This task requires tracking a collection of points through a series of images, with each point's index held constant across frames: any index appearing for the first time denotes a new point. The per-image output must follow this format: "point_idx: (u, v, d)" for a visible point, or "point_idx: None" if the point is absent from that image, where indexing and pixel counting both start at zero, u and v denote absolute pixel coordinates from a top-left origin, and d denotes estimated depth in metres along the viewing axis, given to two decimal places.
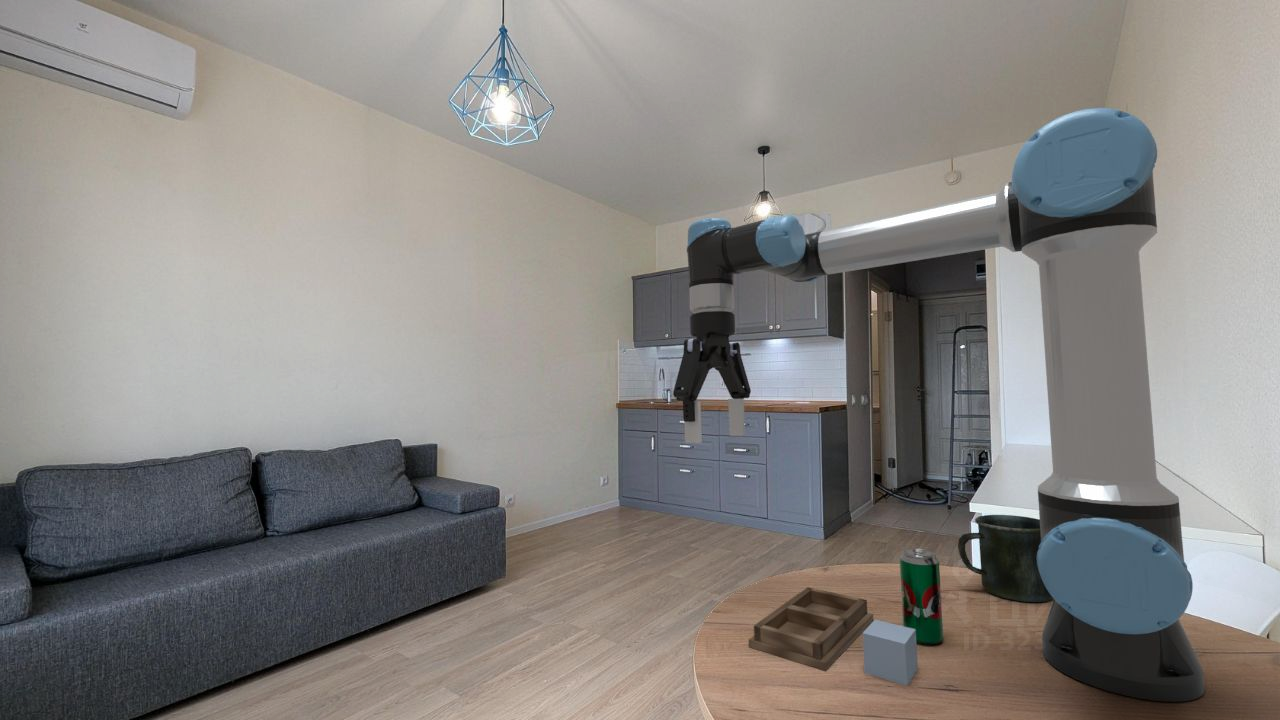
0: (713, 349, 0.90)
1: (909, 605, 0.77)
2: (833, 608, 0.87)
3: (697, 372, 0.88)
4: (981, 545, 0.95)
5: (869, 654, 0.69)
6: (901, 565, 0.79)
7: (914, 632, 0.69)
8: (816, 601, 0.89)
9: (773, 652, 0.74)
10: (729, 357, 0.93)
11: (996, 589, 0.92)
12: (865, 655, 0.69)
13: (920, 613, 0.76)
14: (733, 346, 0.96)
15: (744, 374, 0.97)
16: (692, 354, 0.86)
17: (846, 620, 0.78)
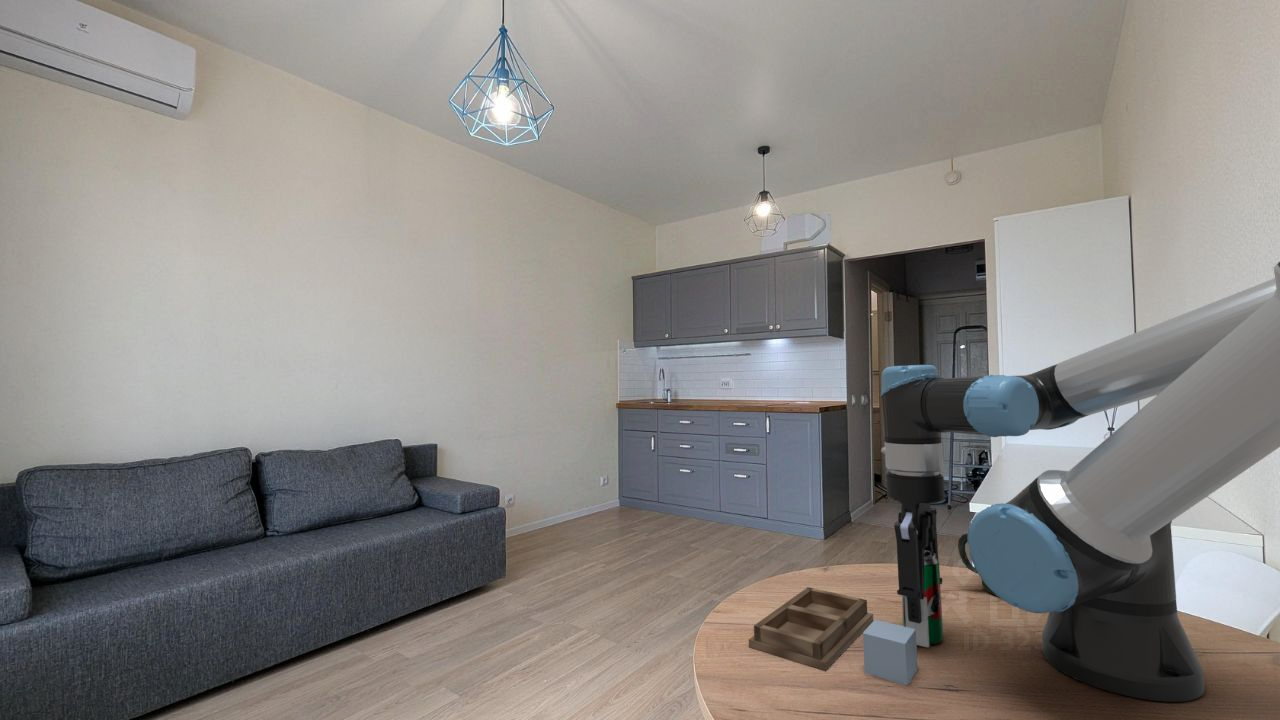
0: (923, 523, 0.76)
1: None
2: (833, 608, 0.87)
3: None
4: None
5: (869, 654, 0.69)
6: None
7: (914, 632, 0.69)
8: (816, 601, 0.89)
9: (773, 652, 0.74)
10: (932, 526, 0.79)
11: None
12: (865, 655, 0.69)
13: None
14: (930, 511, 0.83)
15: (936, 549, 0.82)
16: (911, 545, 0.74)
17: (846, 620, 0.78)
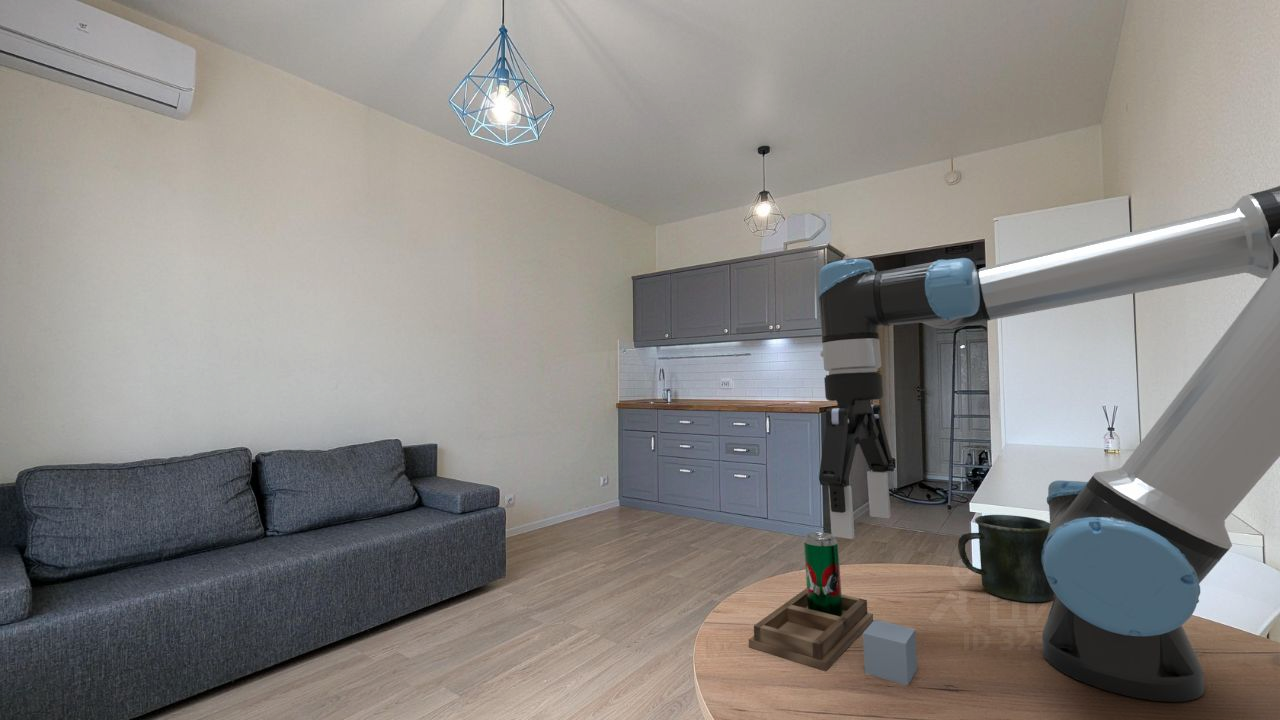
0: (859, 418, 0.74)
1: (811, 584, 0.83)
2: None
3: None
4: (981, 545, 0.95)
5: (869, 654, 0.69)
6: (804, 547, 0.85)
7: (914, 632, 0.69)
8: None
9: (773, 652, 0.74)
10: (874, 425, 0.76)
11: (996, 589, 0.92)
12: (865, 655, 0.69)
13: (820, 590, 0.82)
14: (873, 409, 0.80)
15: (886, 442, 0.81)
16: (839, 428, 0.70)
17: (846, 620, 0.78)
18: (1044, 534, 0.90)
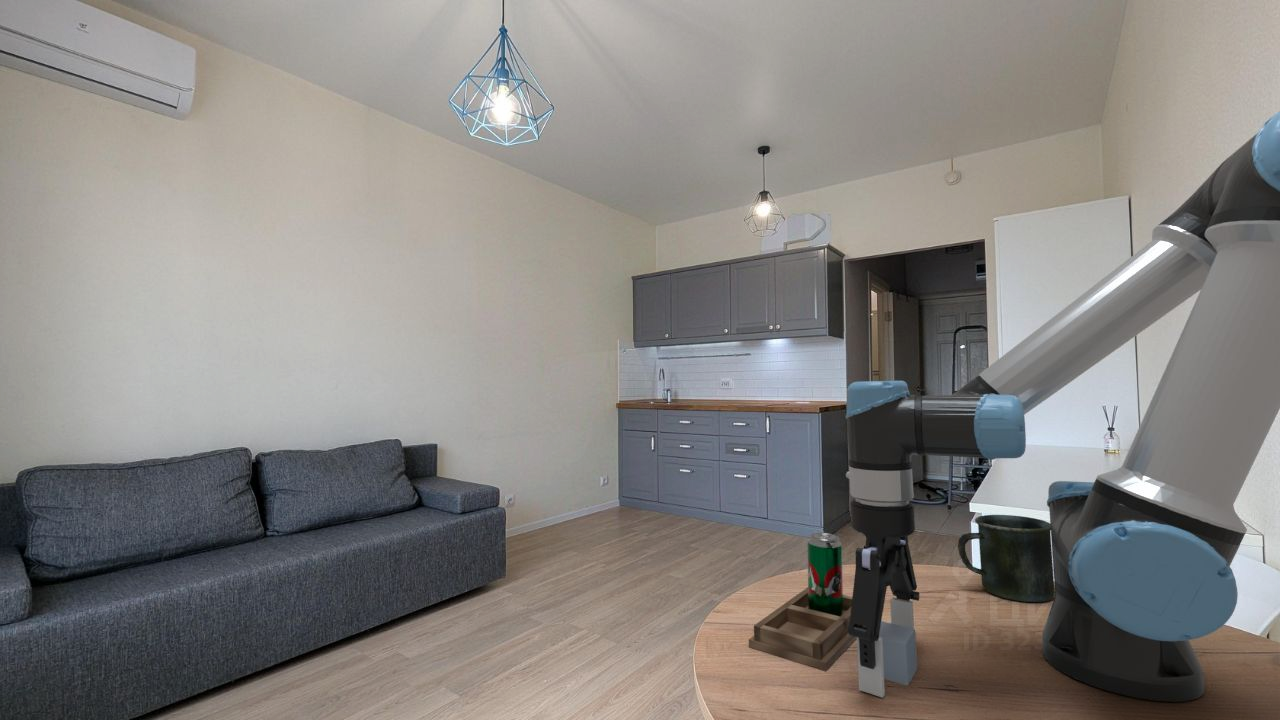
0: (889, 556, 0.68)
1: (813, 585, 0.83)
2: None
3: None
4: (981, 545, 0.95)
5: None
6: (808, 548, 0.84)
7: (914, 632, 0.69)
8: None
9: (773, 652, 0.74)
10: (903, 558, 0.71)
11: (996, 589, 0.92)
12: None
13: (822, 591, 0.82)
14: None
15: (911, 567, 0.75)
16: (871, 574, 0.64)
17: (846, 620, 0.78)
18: (1044, 534, 0.90)
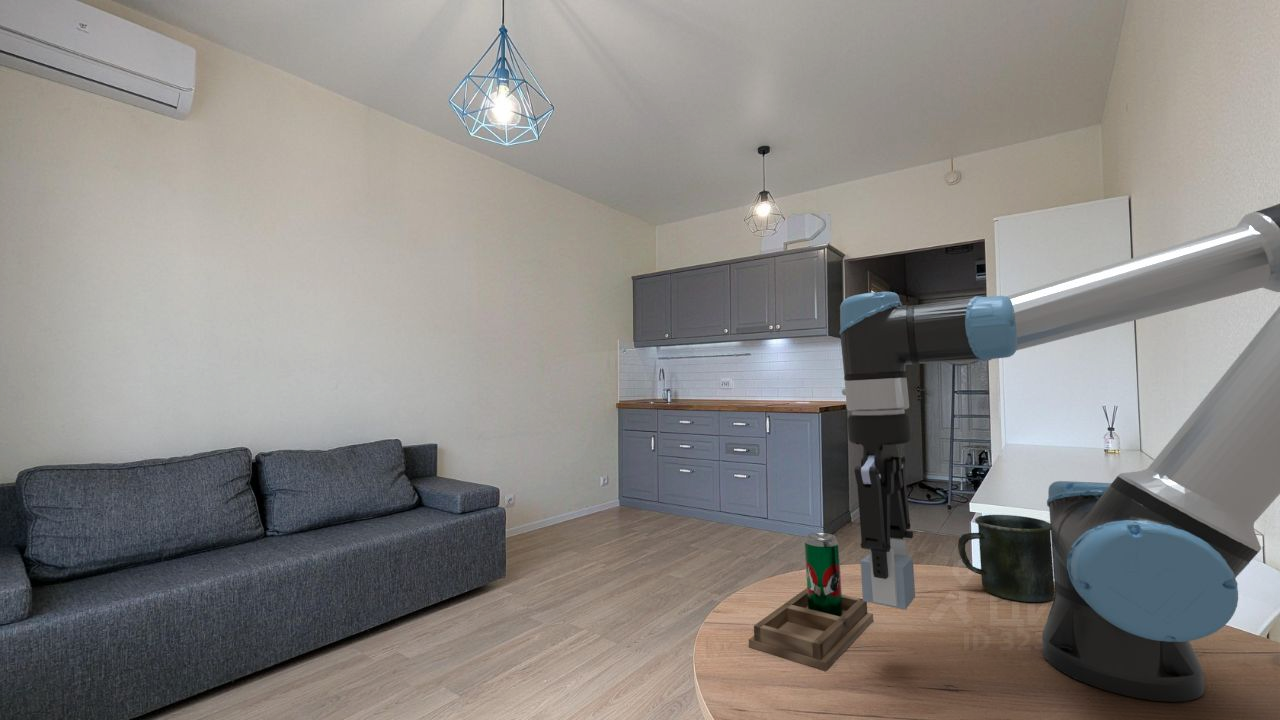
0: (887, 467, 0.68)
1: (812, 585, 0.83)
2: None
3: None
4: (981, 545, 0.95)
5: (867, 581, 0.69)
6: (805, 548, 0.85)
7: (911, 560, 0.70)
8: None
9: (773, 652, 0.74)
10: (900, 473, 0.71)
11: (996, 589, 0.92)
12: (863, 582, 0.69)
13: (821, 591, 0.82)
14: None
15: (906, 500, 0.74)
16: (873, 490, 0.65)
17: (846, 620, 0.78)
18: (1044, 534, 0.90)
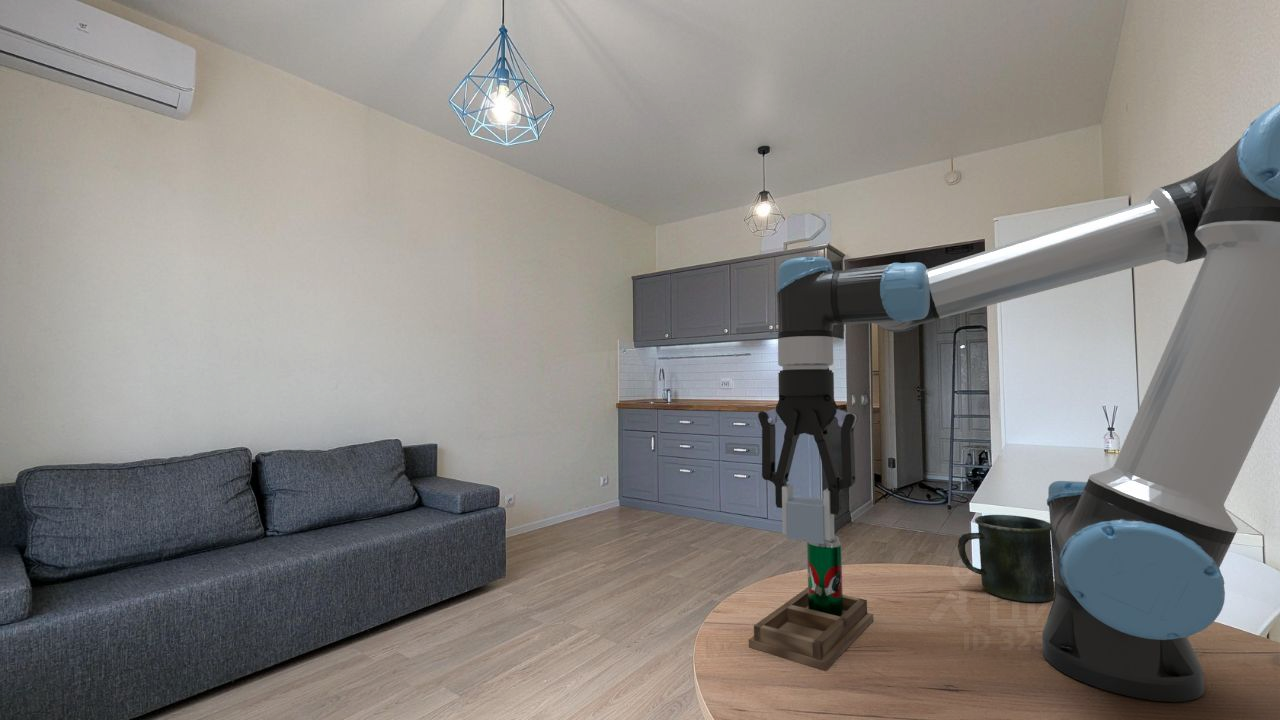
0: None
1: (813, 585, 0.83)
2: None
3: None
4: (981, 545, 0.95)
5: None
6: (808, 548, 0.84)
7: (818, 507, 0.74)
8: None
9: (773, 652, 0.74)
10: (815, 425, 0.75)
11: (996, 589, 0.92)
12: None
13: (822, 591, 0.82)
14: None
15: (846, 458, 0.73)
16: None
17: (846, 620, 0.78)
18: (1044, 534, 0.90)
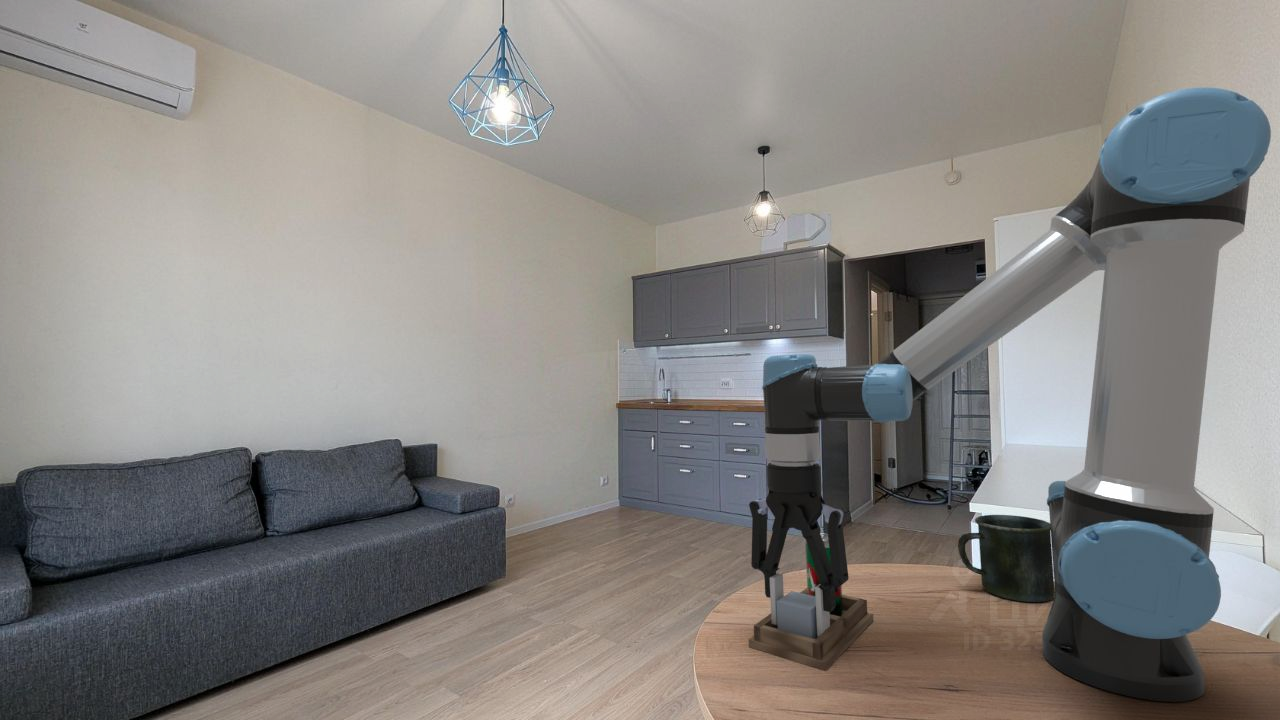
0: None
1: (813, 586, 0.83)
2: None
3: None
4: (981, 545, 0.95)
5: None
6: (806, 548, 0.84)
7: (806, 610, 0.74)
8: None
9: (773, 652, 0.74)
10: (802, 522, 0.76)
11: (996, 589, 0.92)
12: None
13: None
14: None
15: (835, 556, 0.73)
16: None
17: (846, 620, 0.78)
18: (1044, 534, 0.90)
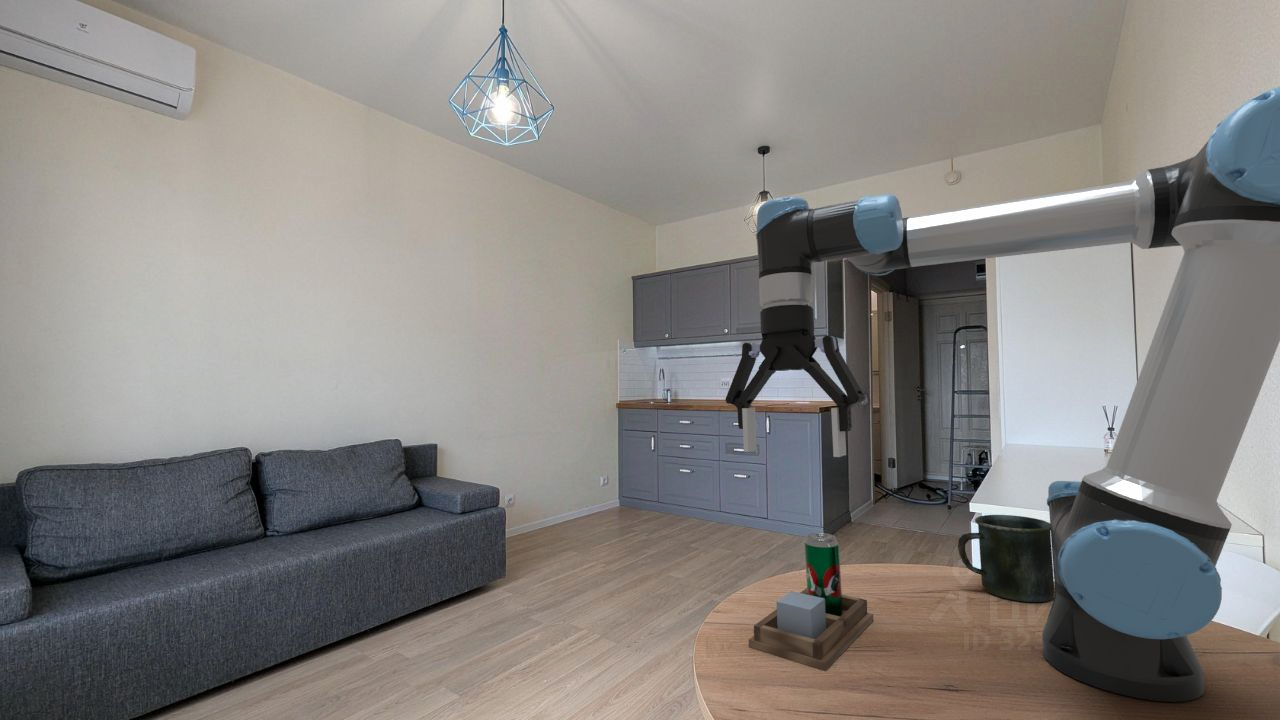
0: None
1: (812, 586, 0.83)
2: None
3: None
4: (981, 545, 0.95)
5: None
6: (805, 548, 0.84)
7: (806, 610, 0.74)
8: None
9: (773, 652, 0.74)
10: (798, 357, 0.77)
11: (996, 589, 0.92)
12: None
13: (822, 592, 0.82)
14: None
15: (842, 376, 0.73)
16: None
17: (846, 620, 0.78)
18: (1044, 534, 0.90)
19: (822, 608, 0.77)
